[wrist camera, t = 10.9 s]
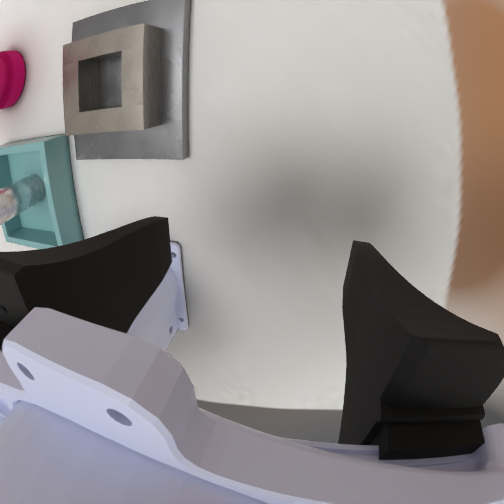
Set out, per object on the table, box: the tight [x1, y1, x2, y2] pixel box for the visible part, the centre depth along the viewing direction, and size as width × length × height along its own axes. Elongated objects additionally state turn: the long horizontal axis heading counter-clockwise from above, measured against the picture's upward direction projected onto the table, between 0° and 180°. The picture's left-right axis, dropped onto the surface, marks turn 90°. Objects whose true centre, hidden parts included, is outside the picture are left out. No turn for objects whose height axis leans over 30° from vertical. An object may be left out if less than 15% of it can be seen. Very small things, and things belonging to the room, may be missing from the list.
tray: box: [0, 134, 84, 249], centre depth 24 cm, size 10×10×3 cm
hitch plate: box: [63, 0, 191, 160], centre depth 18 cm, size 12×10×4 cm
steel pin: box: [0, 174, 45, 225], centre depth 21 cm, size 3×3×8 cm
